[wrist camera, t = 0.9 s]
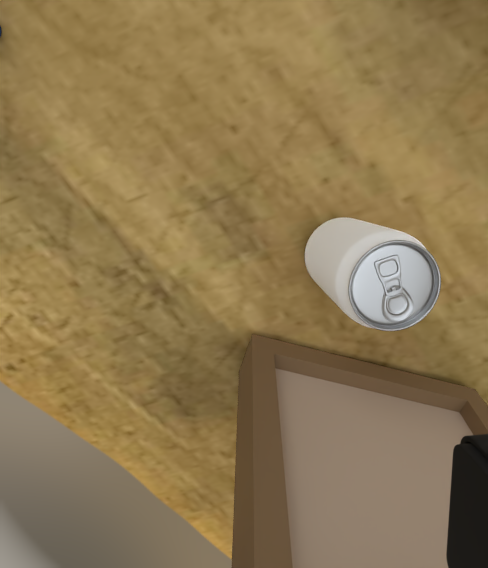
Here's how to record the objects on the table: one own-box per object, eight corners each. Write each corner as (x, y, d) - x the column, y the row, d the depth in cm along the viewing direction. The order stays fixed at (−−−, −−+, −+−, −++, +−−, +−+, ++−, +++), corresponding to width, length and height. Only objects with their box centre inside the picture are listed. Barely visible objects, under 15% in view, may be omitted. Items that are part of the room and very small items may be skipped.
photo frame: (251, 330, 38) (303, 592, 14) (469, 384, 40) (843, 689, 16) (210, 468, 41) (192, 883, 17) (414, 511, 43) (657, 928, 19)
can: (314, 299, 38) (356, 351, 26) (294, 230, 36) (329, 253, 24) (384, 276, 37) (457, 318, 26) (366, 206, 36) (436, 217, 24)
